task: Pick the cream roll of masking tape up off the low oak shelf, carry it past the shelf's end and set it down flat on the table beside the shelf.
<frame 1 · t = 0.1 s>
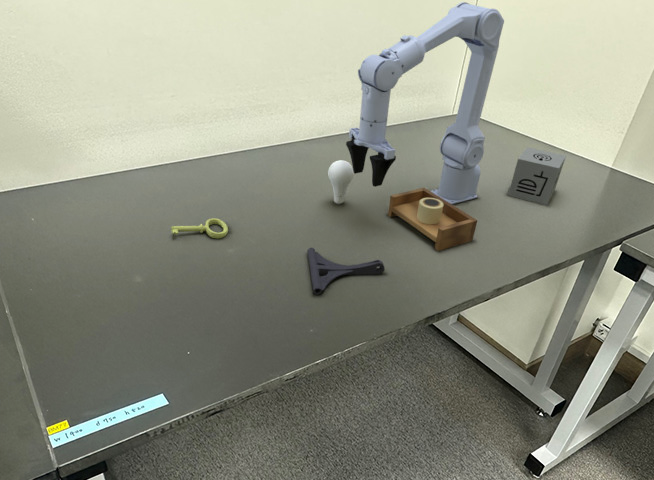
hand: (367, 178, 120), 10 cm above the table, tool pointing down, fingers open, 7 cm apart
icon cube: (531, 194, 142), on the table
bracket: (346, 274, 107), on the table
tape roll: (428, 218, 121), point 3 cm above the table, touching shelf
key: (202, 233, 117), on the table
shelf: (426, 228, 123), on the table
lightbulb: (338, 204, 132), on the table
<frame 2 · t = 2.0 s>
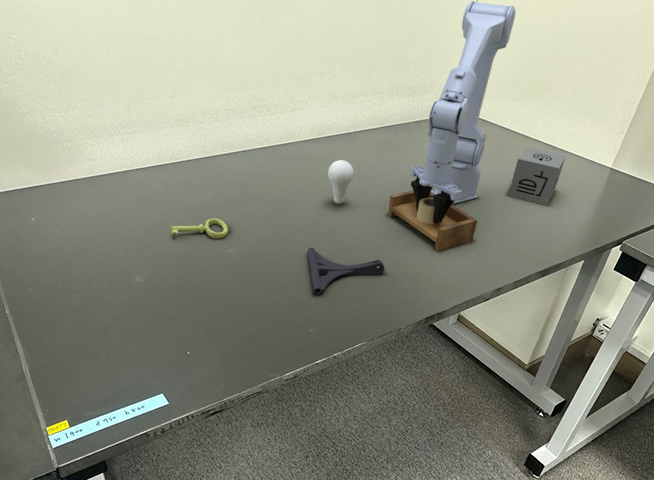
hand: (428, 216, 121), 3 cm above the table, tool pointing down, fingers closed on tape roll, 5 cm apart
tape roll: (428, 218, 121), point 3 cm above the table, touching gripper, shelf
everything else where it was.
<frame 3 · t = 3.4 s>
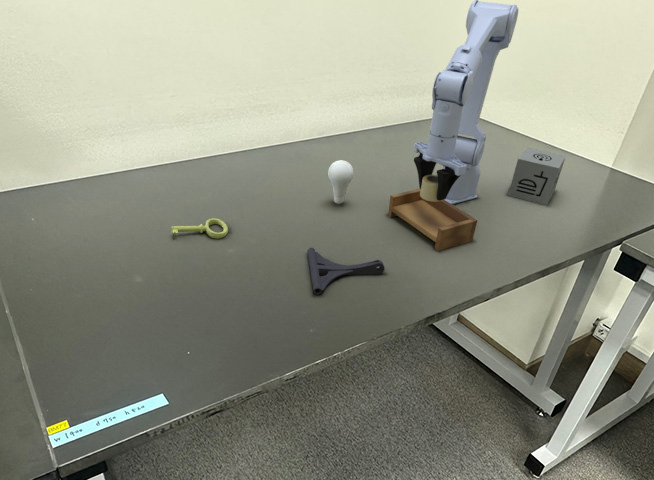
hand: (432, 193, 118), 9 cm above the table, tool pointing down, fingers closed on tape roll, 5 cm apart
tape roll: (432, 196, 118), point 8 cm above the table, touching gripper
everything else where it was.
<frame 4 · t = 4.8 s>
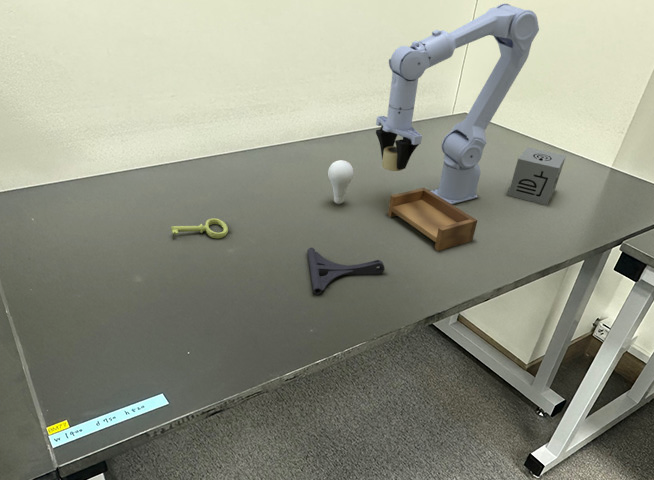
hand: (393, 164, 127), 10 cm above the table, tool pointing down, fingers closed on tape roll, 5 cm apart
tape roll: (393, 166, 127), point 10 cm above the table, touching gripper
everything else where it was.
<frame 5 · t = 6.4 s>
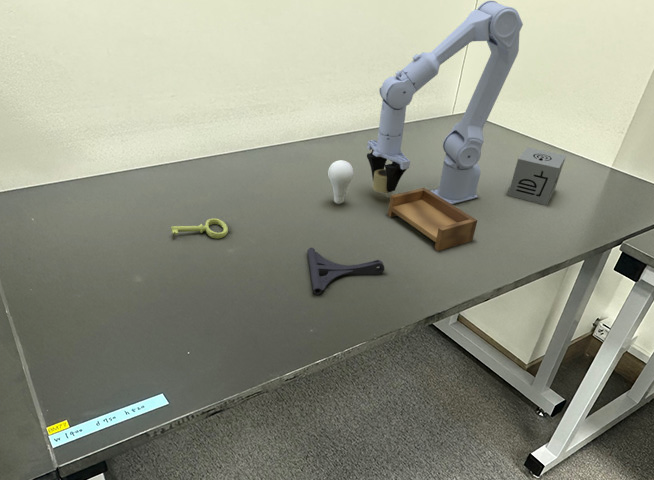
hand: (383, 186, 133), 3 cm above the table, tool pointing down, fingers closed on tape roll, 5 cm apart
tape roll: (383, 188, 133), point 3 cm above the table, touching gripper
everything else where it was.
when the fingers open (1 cm above the table, at t = 7.7 s): tape roll stays where it is, on the table.
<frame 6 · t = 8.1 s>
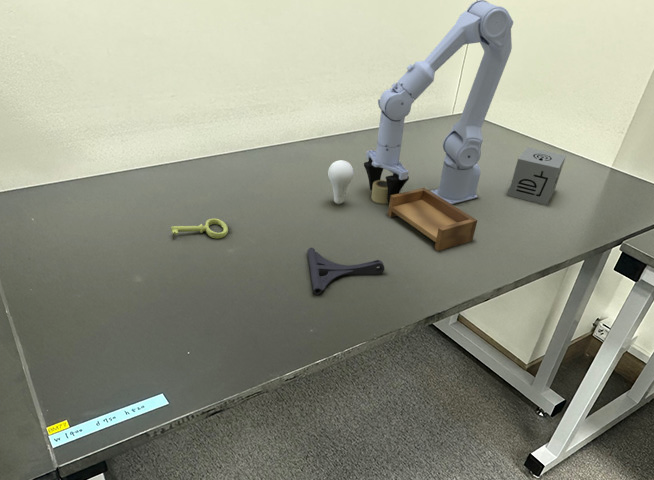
hand: (382, 195, 134), 1 cm above the table, tool pointing down, fingers open, 7 cm apart
tape roll: (381, 198, 135), on the table
everything else where it was.
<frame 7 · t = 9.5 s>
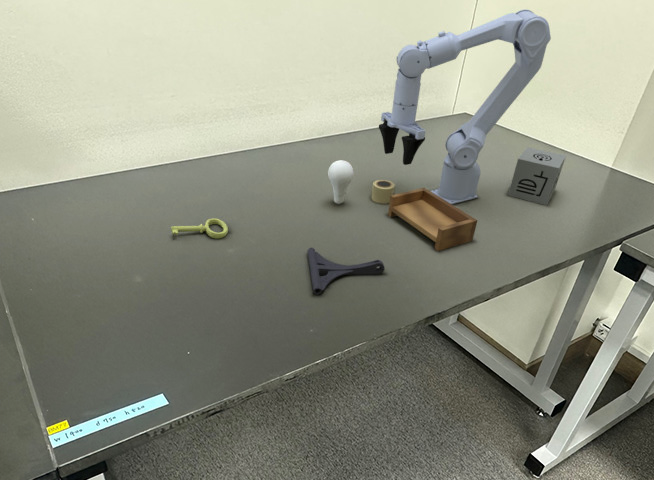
hand: (397, 158, 132), 9 cm above the table, tool pointing down, fingers open, 7 cm apart
nothing on the table moved.
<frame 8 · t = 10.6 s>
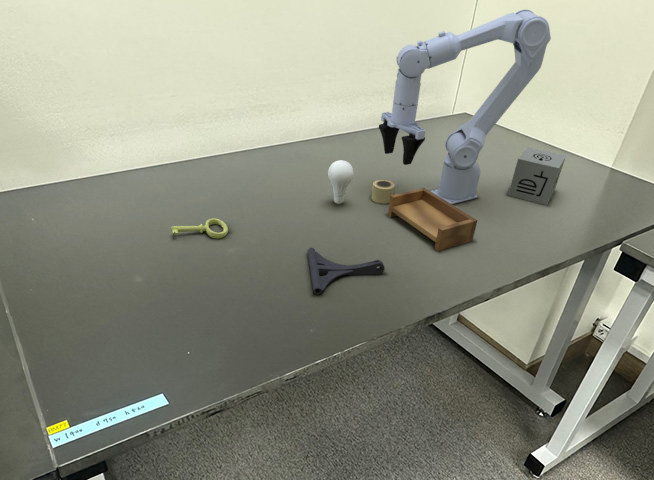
hand: (397, 158, 132), 9 cm above the table, tool pointing down, fingers open, 7 cm apart
nothing on the table moved.
at the end: tape roll inside the target area (0.1 cm from its centre), on the table; tape roll tilted 0°; the gripper is holding nothing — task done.
